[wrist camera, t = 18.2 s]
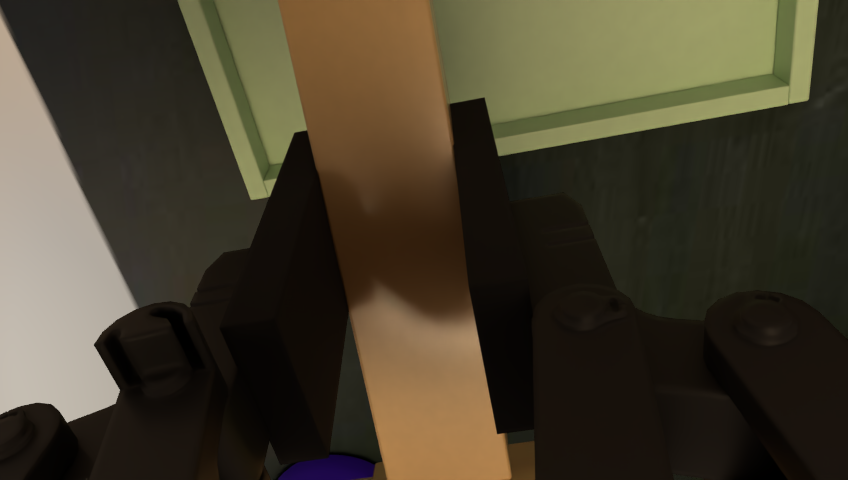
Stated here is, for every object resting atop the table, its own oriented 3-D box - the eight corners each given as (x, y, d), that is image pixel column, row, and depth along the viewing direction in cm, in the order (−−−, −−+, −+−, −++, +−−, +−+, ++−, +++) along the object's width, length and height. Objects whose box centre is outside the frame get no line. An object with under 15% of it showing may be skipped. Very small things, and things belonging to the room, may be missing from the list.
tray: (260, 180, 30) (250, 200, 29) (158, -107, 24) (138, -102, 23) (786, 84, 28) (809, 101, 26) (813, -256, 22) (846, -263, 21)
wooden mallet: (150, -56, 15) (54, -90, 11) (456, -122, 14) (456, -180, 10) (341, 656, 19) (316, 788, 16) (575, 630, 19) (602, 761, 15)
